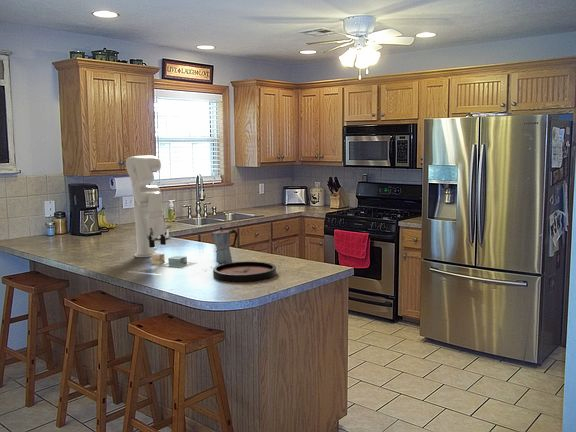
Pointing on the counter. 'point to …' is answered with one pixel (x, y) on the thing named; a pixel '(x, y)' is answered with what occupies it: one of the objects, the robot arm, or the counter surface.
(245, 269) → the round serving tray
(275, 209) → the counter surface
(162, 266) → the build board
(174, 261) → the teal base block
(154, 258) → the maple block
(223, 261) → the moka pot
